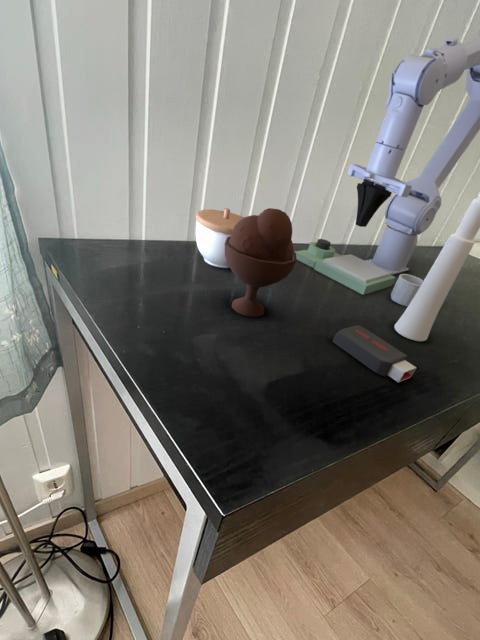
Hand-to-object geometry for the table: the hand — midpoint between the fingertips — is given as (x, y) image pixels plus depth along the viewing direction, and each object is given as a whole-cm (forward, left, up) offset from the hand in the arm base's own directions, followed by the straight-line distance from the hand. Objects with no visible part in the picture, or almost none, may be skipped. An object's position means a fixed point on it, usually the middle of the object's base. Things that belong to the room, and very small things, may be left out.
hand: (360, 225), depth 78 cm
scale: (0, +3, -10) cm, 10 cm away
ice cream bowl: (+35, +4, -10) cm, 37 cm away
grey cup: (-1, +15, -10) cm, 18 cm away
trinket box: (+26, -13, -10) cm, 31 cm away
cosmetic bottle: (+12, +23, -10) cm, 28 cm away
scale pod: (0, -7, -10) cm, 12 cm away
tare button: (0, -7, -7) cm, 10 cm away
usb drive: (+28, +24, -10) cm, 38 cm away
